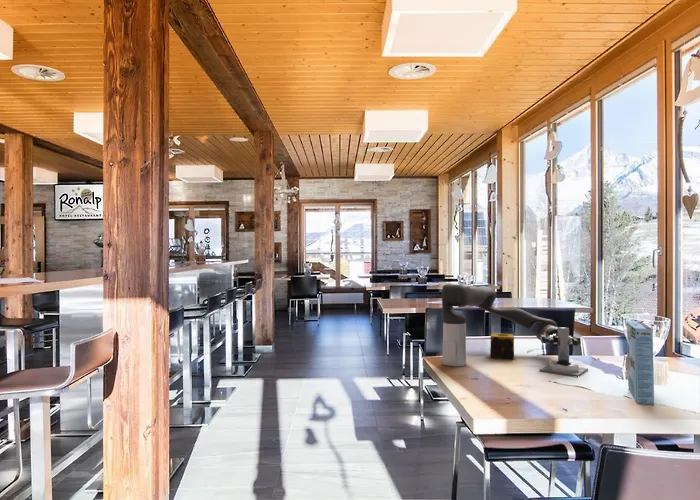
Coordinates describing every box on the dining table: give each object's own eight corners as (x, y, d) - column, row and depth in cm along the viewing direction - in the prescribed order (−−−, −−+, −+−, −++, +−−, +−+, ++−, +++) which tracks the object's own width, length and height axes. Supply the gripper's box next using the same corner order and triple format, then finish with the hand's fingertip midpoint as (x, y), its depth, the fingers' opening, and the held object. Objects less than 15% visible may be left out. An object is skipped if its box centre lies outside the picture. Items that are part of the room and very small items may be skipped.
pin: (567, 370, 182) (567, 328, 183) (556, 368, 185) (556, 328, 185) (570, 368, 185) (570, 327, 186) (559, 367, 188) (559, 326, 188)
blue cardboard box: (654, 405, 142) (653, 329, 142) (634, 403, 144) (634, 328, 144) (644, 389, 159) (643, 321, 160) (626, 387, 161) (626, 320, 162)
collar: (577, 377, 175) (577, 369, 175) (539, 371, 184) (539, 363, 184) (588, 370, 186) (587, 362, 186) (551, 365, 195) (551, 357, 195)
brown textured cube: (490, 358, 207) (489, 336, 208) (490, 354, 217) (490, 332, 217) (514, 360, 204) (514, 337, 205) (513, 355, 214) (513, 333, 214)
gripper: (536, 326, 201) (545, 332, 185) (572, 327, 199) (583, 333, 183) (537, 344, 201) (545, 351, 185) (572, 345, 198) (584, 353, 182)
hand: (564, 342), depth 184 cm, fingers open, 8 cm apart
